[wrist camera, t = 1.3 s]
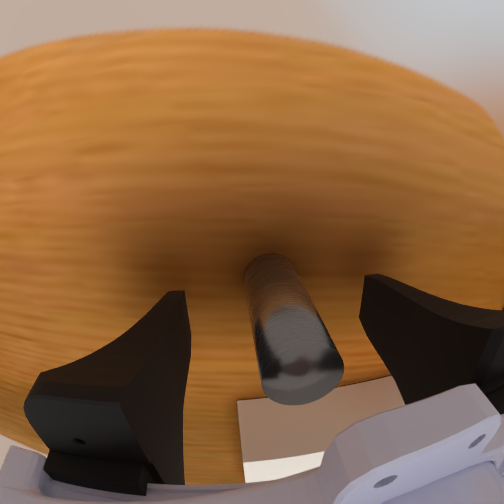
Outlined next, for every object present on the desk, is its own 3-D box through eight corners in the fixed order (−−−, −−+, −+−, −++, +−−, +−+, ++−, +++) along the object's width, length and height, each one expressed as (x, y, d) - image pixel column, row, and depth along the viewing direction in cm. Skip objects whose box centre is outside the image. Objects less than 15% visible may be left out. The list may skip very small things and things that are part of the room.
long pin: (296, 252, 14) (349, 340, 8) (295, 298, 15) (338, 398, 9) (242, 255, 14) (261, 351, 8) (244, 303, 15) (262, 409, 9)
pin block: (415, 369, 18) (447, 416, 14) (381, 447, 22) (399, 487, 17) (237, 400, 17) (243, 465, 13) (245, 473, 21) (251, 520, 16)
